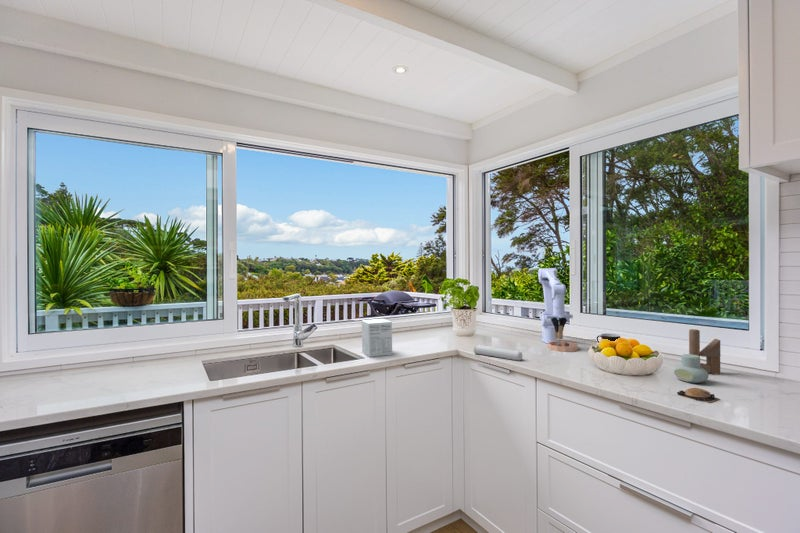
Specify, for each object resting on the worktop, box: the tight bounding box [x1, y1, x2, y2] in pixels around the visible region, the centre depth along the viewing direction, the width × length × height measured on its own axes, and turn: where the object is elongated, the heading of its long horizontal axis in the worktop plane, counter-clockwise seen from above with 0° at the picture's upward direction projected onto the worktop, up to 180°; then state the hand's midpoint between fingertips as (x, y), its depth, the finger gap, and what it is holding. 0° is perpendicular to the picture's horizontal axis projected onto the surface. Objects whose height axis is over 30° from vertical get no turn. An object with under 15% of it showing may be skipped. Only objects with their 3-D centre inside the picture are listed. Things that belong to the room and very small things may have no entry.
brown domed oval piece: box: [676, 387, 721, 404], centre depth 137 cm, size 11×8×4 cm
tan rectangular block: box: [555, 324, 564, 340], centre depth 213 cm, size 5×2×7 cm, turn 2°
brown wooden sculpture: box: [688, 328, 721, 375], centre depth 165 cm, size 4×11×18 cm, turn 80°
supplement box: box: [361, 318, 393, 358], centre depth 210 cm, size 13×13×18 cm
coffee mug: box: [596, 333, 621, 344], centre depth 200 cm, size 12×9×10 cm
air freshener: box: [673, 353, 709, 384], centre depth 154 cm, size 11×8×10 cm
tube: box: [473, 343, 524, 362], centre depth 198 cm, size 5×5×25 cm
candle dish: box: [547, 340, 579, 353], centre depth 214 cm, size 15×15×3 cm
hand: (559, 331), depth 213 cm, fingers closed on tan rectangular block, 2 cm apart
